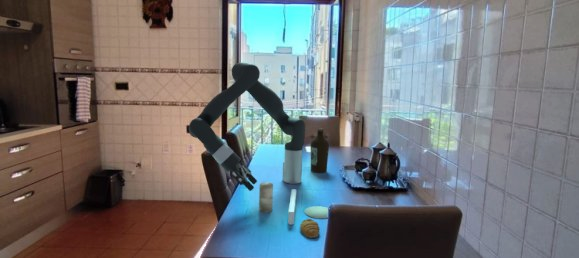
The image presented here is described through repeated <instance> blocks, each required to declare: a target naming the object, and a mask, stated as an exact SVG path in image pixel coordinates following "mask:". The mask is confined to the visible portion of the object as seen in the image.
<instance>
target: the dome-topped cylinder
mask: <svg viewBox="0 0 579 258" xmlns="http://www.w3.org/2000/svg"><path fill="white" fill-rule="evenodd" d="M273 195H274V183H272V182H267V181H266V182H265V181H264V182H260V183H259V195H258V199H259V200H258V211H259V212H260V213H266V214H268V213H271V212H273V203H274V201H273V199H274V197H273Z"/></svg>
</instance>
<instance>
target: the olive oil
mask: <svg viewBox="0 0 579 258" xmlns="http://www.w3.org/2000/svg"><path fill="white" fill-rule="evenodd" d="M329 151H330V143H329V141H328V139H327V138H326V137H325V135H324V128H322V127H318V128H317V133H316V136H315V137H314V138H313V139H312V140H311V142H310V171H311V172H312V173H316V174H323V173H326V172H327V171H328V160H329V159H328V158H329Z"/></svg>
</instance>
